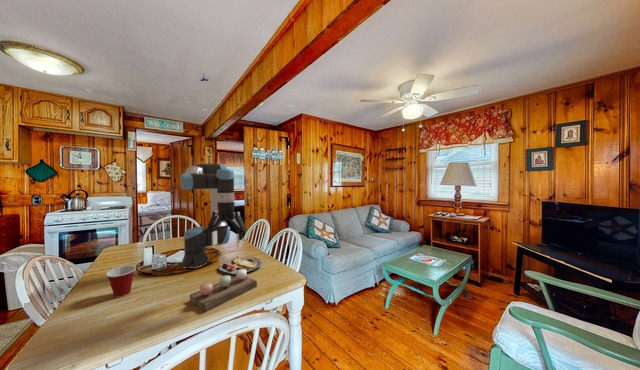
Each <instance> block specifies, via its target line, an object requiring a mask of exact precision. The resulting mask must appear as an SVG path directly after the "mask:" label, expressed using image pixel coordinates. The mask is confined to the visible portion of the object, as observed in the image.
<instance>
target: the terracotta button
mask: <svg viewBox="0 0 640 370" xmlns="http://www.w3.org/2000/svg"><path fill="white" fill-rule="evenodd" d="M213 285H214V283H212V282H205V283H202V284H201V285H200V286H199V291H200V294H201V295H207V294H210V293H211V292H213Z"/></svg>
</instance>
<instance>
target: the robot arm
mask: <svg viewBox="0 0 640 370" xmlns="http://www.w3.org/2000/svg"><path fill="white" fill-rule="evenodd" d="M180 186H181V187H180V188H181V189H183V190H206V189H207V190H210V191H209V193H210V194H209V195H210V199H209V201H210V202H209V203H210V220H209V223H208V224H207V226H206V227H205V226H196V227H192V228H188V229H187V230H185V231H184V235H183V240H184V241H183V243H184V246H183V247H184V253H183V254H184V255H183V258H182V262H181V268H182V267H186V268H189V267H197V266H200V265H203V264H205V263H207V262H208V261H209V257H208V254H207V252H206V248H207V247H213V246H222V245H225V244H226V245H227V244H228V243H229V242H230V237H231V227H230V226H229V225H228V223H227V222H229V223H231V225H232V226H233V228H234V229H235V230H236V231H237V233H236V248H241V247H242V246H243V239H244V233H245V232H247V231H248V229H247V227H246V225H245V222H244V220H243V218H242V216H241V211H236V212H235V208H236V207H235V172H234V170H233V169H229V168H228V167H227V165H226V164H224V163H196V164H192V165H190V166H189V167H187V168H186V169H185V171H184V173H182V174H181V175H180Z"/></svg>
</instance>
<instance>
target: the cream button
mask: <svg viewBox="0 0 640 370" xmlns="http://www.w3.org/2000/svg"><path fill="white" fill-rule="evenodd" d="M235 273H236V274H235V276H236V278H237V279H244V278H246V277H248V273H247V270H246V269H240V270H238V271H236V272H235Z"/></svg>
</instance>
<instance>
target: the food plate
mask: <svg viewBox="0 0 640 370" xmlns="http://www.w3.org/2000/svg"><path fill="white" fill-rule="evenodd" d="M262 264H263V261H262V260H260V259H259V258H256V257H250V256H249V257H248V256H246V257H244V256H243V257H239V256H236V257H235V258H232V259H228V260H225V261H223V262H222V263H221V264H219V266H218V270H219V271H220V272H224V273H226V274H231V275H236V271H238V270H240V269H246V270H247V272H251V271H254V270H256V269H258V268H259V267H261V265H262Z"/></svg>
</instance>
